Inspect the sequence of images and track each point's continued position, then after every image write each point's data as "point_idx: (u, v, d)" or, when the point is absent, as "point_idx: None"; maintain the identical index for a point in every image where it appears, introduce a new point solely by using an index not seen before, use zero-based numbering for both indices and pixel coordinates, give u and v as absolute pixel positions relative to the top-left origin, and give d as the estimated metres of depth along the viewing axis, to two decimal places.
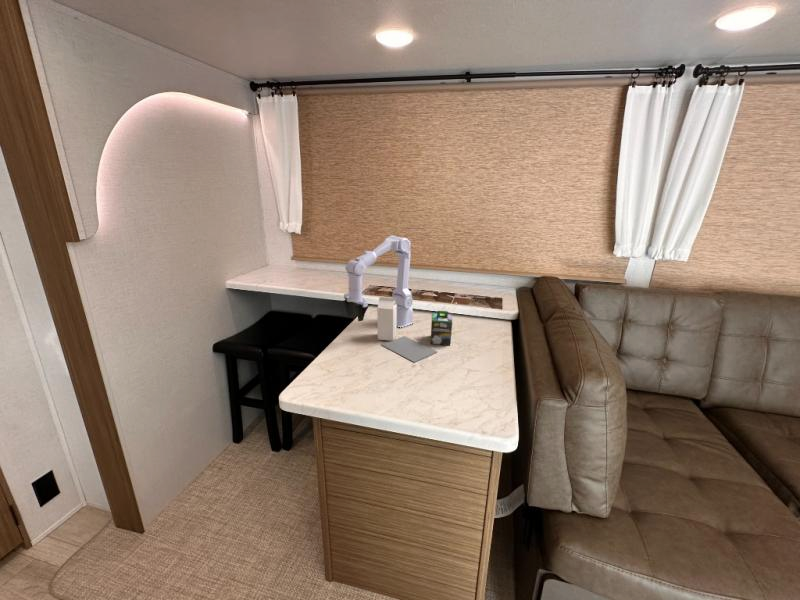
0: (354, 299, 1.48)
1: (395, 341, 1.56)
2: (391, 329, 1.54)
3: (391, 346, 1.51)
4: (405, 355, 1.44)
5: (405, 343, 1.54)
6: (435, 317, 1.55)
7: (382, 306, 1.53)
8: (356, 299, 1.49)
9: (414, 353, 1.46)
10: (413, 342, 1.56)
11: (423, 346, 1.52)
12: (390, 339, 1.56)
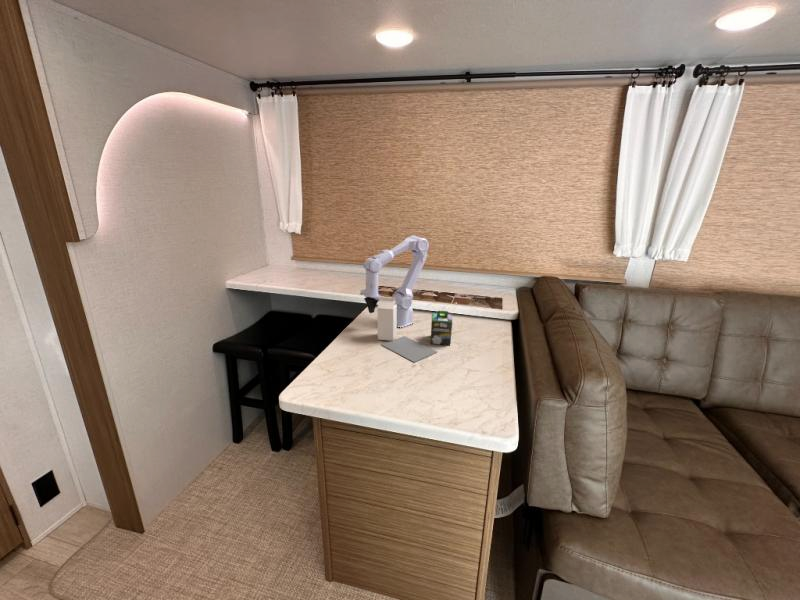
0: (371, 294, 1.59)
1: (395, 341, 1.56)
2: (391, 329, 1.54)
3: (391, 346, 1.51)
4: (405, 355, 1.44)
5: (405, 343, 1.54)
6: (435, 317, 1.55)
7: (382, 306, 1.53)
8: (373, 294, 1.59)
9: (414, 353, 1.46)
10: (413, 342, 1.56)
11: (423, 346, 1.52)
12: (390, 339, 1.56)
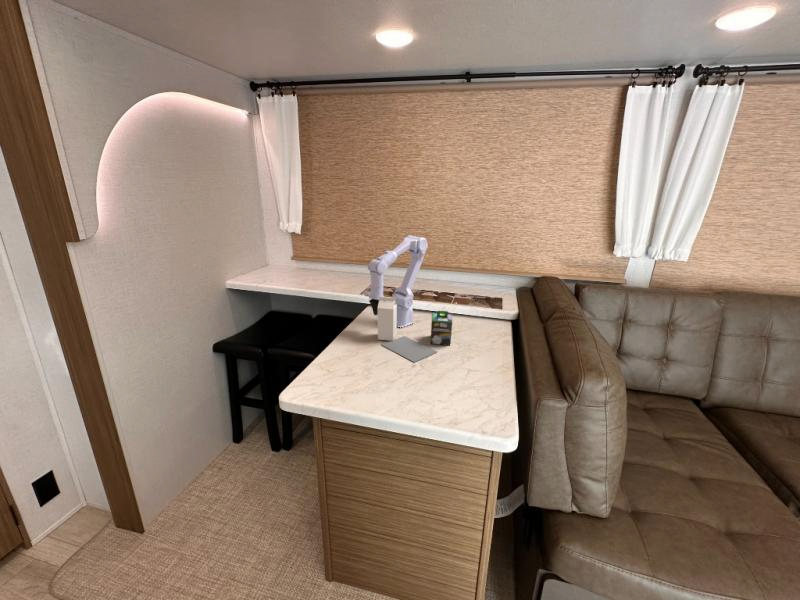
0: (376, 296, 1.57)
1: (395, 341, 1.56)
2: (391, 329, 1.54)
3: (391, 346, 1.51)
4: (405, 355, 1.44)
5: (405, 343, 1.54)
6: (435, 317, 1.55)
7: (382, 306, 1.53)
8: (378, 296, 1.57)
9: (414, 353, 1.46)
10: (413, 342, 1.56)
11: (423, 346, 1.52)
12: (390, 339, 1.56)
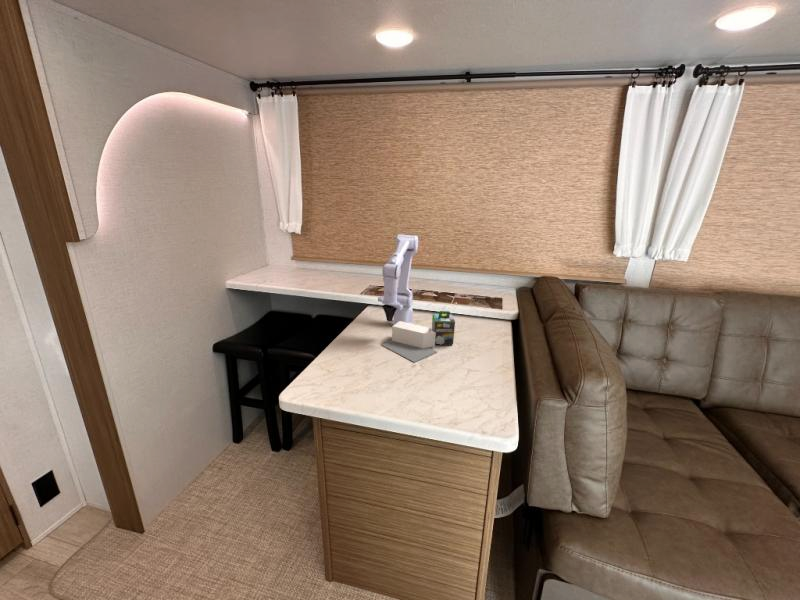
0: (390, 302, 1.50)
1: None
2: (402, 341, 1.54)
3: (391, 346, 1.51)
4: (405, 355, 1.44)
5: None
6: (437, 318, 1.55)
7: (425, 337, 1.49)
8: (392, 302, 1.51)
9: (414, 353, 1.46)
10: None
11: None
12: (393, 338, 1.56)
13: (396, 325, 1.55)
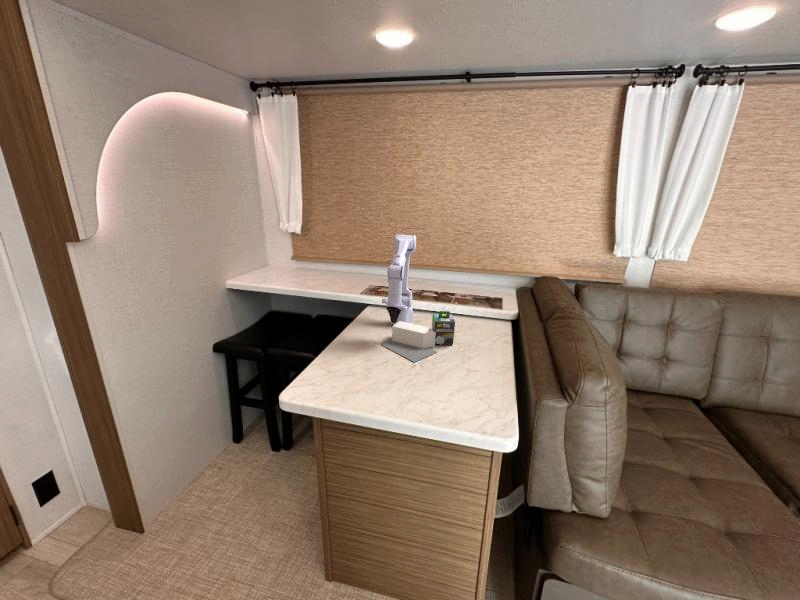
0: (394, 304, 1.49)
1: None
2: (402, 341, 1.54)
3: (391, 346, 1.51)
4: (405, 355, 1.44)
5: None
6: (437, 318, 1.55)
7: (425, 337, 1.49)
8: (396, 304, 1.49)
9: (414, 353, 1.46)
10: None
11: None
12: (393, 338, 1.56)
13: (396, 325, 1.55)
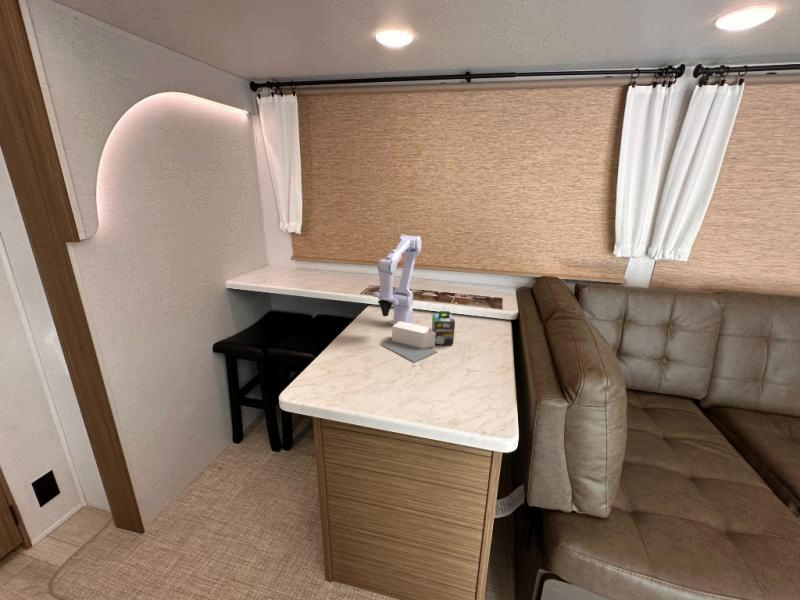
0: (385, 297, 1.52)
1: None
2: (402, 341, 1.54)
3: (391, 346, 1.51)
4: (405, 355, 1.44)
5: None
6: (437, 318, 1.55)
7: (425, 337, 1.49)
8: (387, 297, 1.52)
9: (414, 353, 1.46)
10: None
11: None
12: (393, 338, 1.56)
13: (396, 325, 1.55)
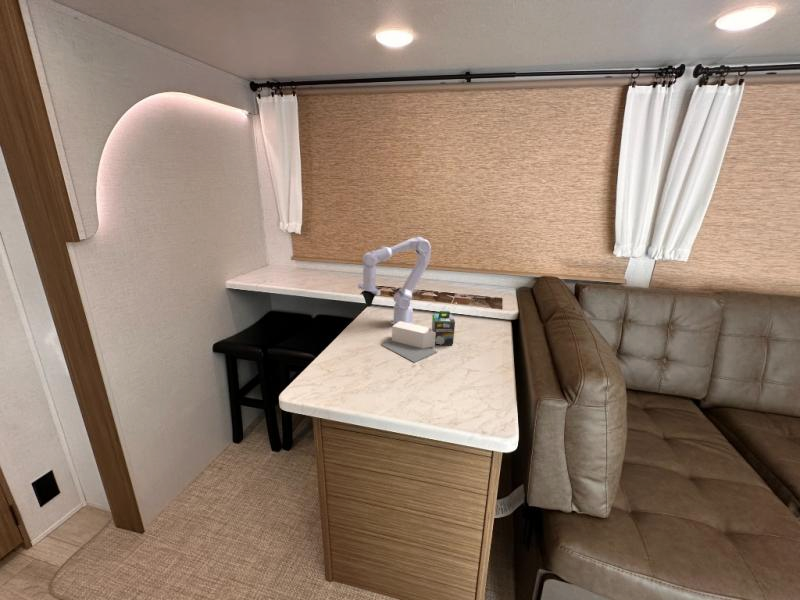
0: (368, 288, 1.63)
1: None
2: (402, 341, 1.54)
3: (391, 346, 1.51)
4: (405, 355, 1.44)
5: None
6: (437, 318, 1.55)
7: (425, 337, 1.49)
8: (370, 288, 1.63)
9: (414, 353, 1.46)
10: None
11: None
12: (393, 338, 1.56)
13: (396, 325, 1.55)
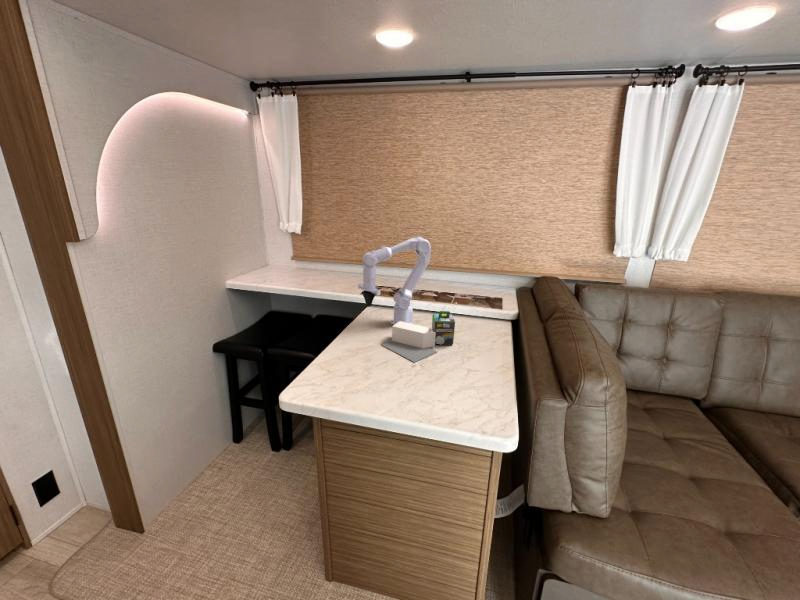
0: (368, 288, 1.63)
1: None
2: (402, 341, 1.54)
3: (391, 346, 1.51)
4: (405, 355, 1.44)
5: None
6: (437, 318, 1.55)
7: (425, 337, 1.49)
8: (370, 288, 1.63)
9: (414, 353, 1.46)
10: None
11: None
12: (393, 338, 1.56)
13: (396, 325, 1.55)
